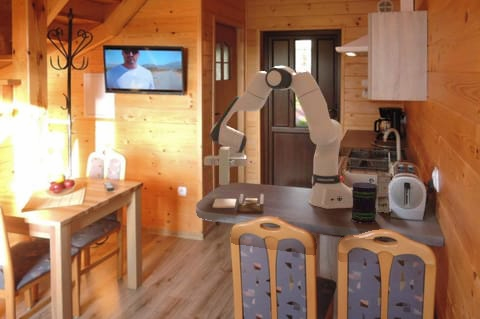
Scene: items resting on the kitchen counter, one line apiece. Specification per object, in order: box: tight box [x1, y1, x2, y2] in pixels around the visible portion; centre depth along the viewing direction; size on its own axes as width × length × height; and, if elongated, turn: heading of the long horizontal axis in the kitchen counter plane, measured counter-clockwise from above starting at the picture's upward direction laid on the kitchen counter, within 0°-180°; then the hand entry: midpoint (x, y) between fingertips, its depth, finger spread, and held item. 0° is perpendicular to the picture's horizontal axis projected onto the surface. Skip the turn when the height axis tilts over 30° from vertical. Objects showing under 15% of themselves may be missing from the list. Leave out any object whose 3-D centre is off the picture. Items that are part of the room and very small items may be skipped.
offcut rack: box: [237, 193, 265, 213], centre depth 226 cm, size 11×18×4 cm, turn 177°
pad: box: [212, 198, 237, 209], centre depth 230 cm, size 10×13×1 cm
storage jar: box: [351, 182, 377, 224], centre depth 203 cm, size 10×10×15 cm
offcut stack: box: [243, 197, 258, 204], centre depth 220 cm, size 6×4×5 cm, turn 87°
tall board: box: [218, 146, 231, 186], centre depth 227 cm, size 4×10×16 cm, turn 177°
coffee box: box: [375, 172, 394, 214], centre depth 218 cm, size 9×6×16 cm
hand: (224, 163), depth 226 cm, fingers closed on tall board, 4 cm apart
